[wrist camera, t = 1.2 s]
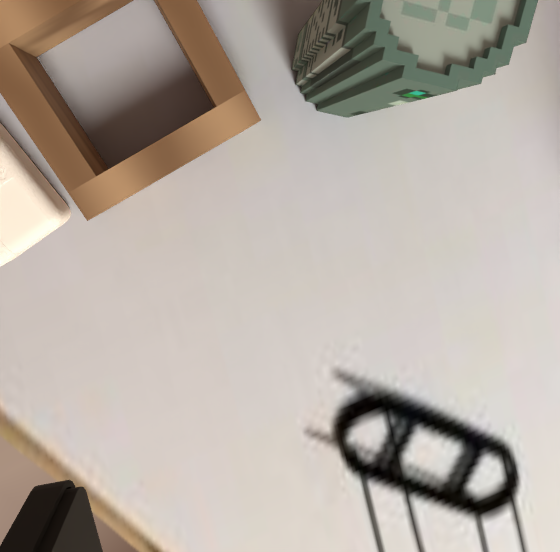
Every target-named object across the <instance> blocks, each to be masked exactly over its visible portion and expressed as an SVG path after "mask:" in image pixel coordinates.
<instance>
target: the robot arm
mask: <svg viewBox="0 0 560 552" xmlns="http://www.w3.org/2000/svg"><path fill="white" fill-rule="evenodd" d="M0 552H103V551H102V548H101V544H100V540H99V536H98V533H97V529H96V526H95V522H94V518H93V514H92V511H91V507H90V503H89V500H88V496H87V493H86V490H85V489H84V487H75V485H74V483H73V482H72V481H70V480H66V481H60V482H55V483H50V484H44V485H38V486H36V487H34V488H33V489H32V491H31V492H30V494H29V496H28V498H27V499H26V501H25V503H24V505H23V507H22V508H21V510H20V512H19V514H18V515H17V517H16V519H15V521H14V522H13V524H12V526H11V528H10V530H9V532H8V533H7V535H6V537H5V539H4V540H3V542H2V544H1V546H0Z"/></svg>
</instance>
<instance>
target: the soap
mask: <svg viewBox="0 0 560 552" xmlns="http://www.w3.org/2000/svg"><path fill="white" fill-rule="evenodd" d="M70 216H71V211H70V209H69V207H68V206H67V204H66V203H65V202H64V201H63V199H62V198H61V197H60V196H59V194H58V193H57V192H56V191H55V189H54V188H53V187H52V186H51V185H50V183H49V182H48V181H47V180H46V178H45V177H44V176H43V175H42V173H41V172H40V171H39V170H38V168H37V167H36V166H35V165H34V164H33V162H32V161H31V160H30V158H29V157H28V156H27V155H26V153H25V152H24V151H23V150H22V149H21V147H20V146H19V145H18V144H17V142H16V141H15V140H14V139H13V137H12V136H11V135H10V134H9V133H8V131H7V130H6V129H5V128H4V126H3V125H2V124H1V123H0V266H2V265H4V264H5V263H7V262H9V261H11V260H13V259H14V258H16V257H17V256H19V255H20V254H21V253H23V252H24V251H26V250H27V249H28V248H30V247H31V246H33V245H34V244H36V243H37V242H38V241H40V240H41V239H43V238H44V237H45V236H47V235H48V234H50V233H51V232H53V231H54V230H55V229H57V228H58V227H60V226H61V225H62V224H64V223H65V222H66V221H67V220H68V219H69V218H70Z"/></svg>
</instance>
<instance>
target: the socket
mask: <svg viewBox="0 0 560 552" xmlns="http://www.w3.org/2000/svg"><path fill="white" fill-rule="evenodd" d="M131 1H133V0H0V93H1V95H2V96H3V97H4V99H5V100H6V102H7V103H8V105H9V106H10V108H11V109H12V111H13V112H14V114H15V115H16V117H17V118H18V120H19V121H20V122H21V124H22V125H23V127H24V128H25V130H26V131H27V133H28V134H29V136H30V137H31V139H32V140H33V142H34V143H35V145H36V146H37V147H38V149H39V150H40V152H41V153H42V155H43V156H44V158H45V159H46V161H47V162H48V164H49V165H50V167H51V168H52V170H53V171H54V172H55V174H56V175H57V177H58V178H59V180H60V181H61V183H62V184H63V186H64V187H65V189H66V190H67V192H68V193H69V195H70V196H71V197H72V199H73V200H74V202H75V203H76V205H77V206H78V208H79V209H80V211H81V212H82V214H83V215H84V217H85V218H86V220H87V221H88V220H90V219H91V218H93V217H95V216H97V215H99V214H100V213H102V212H104V211H106V210H107V209H109V208H111V207H113V206H114V205H116V204H118V203H119V202H121V201H123V200H125V199H126V198H128V197H130V196H132V195H133V194H135V193H137V192H138V191H140V190H142V189H144V188H145V187H147V186H149V185H151V184H152V183H154V182H156V181H157V180H159V179H161V178H163V177H164V176H166V175H168V174H170V173H171V172H173V171H175V170H176V169H178V168H180V167H182V166H183V165H185V164H187V163H189V162H190V161H192V160H194V159H195V158H197V157H199V156H201V155H202V154H204V153H206V152H208V151H209V150H211V149H213V148H214V147H216V146H218V145H220V144H221V143H223V142H225V141H227V140H228V139H230V138H232V137H233V136H235V135H237V134H239V133H240V132H242V131H244V130H246V129H247V128H249V127H251V126H252V125H254V124H256V123H257V122H259V121H261V119H260V117H259V115H258V113H257V112H256V110H255V108H254V106H253V104H252V102H251V100H250V98H249V97H248V95H247V93H246V91H245V89H244V87H243V85H242V84H241V82H240V80H239V78H238V76H237V74H236V72H235V71H234V69H233V67H232V65H231V63H230V61H229V59H228V58H227V56H226V54H225V52H224V50H223V48H222V46H221V44H220V43H219V41H218V39H217V37H216V35H215V33H214V31H213V30H212V28H211V26H210V24H209V22H208V20H207V18H206V17H205V15H204V13H203V11H202V9H201V7H200V5H199V3H198V2H197V0H154V1H155V3H156V5H157V6H158V8H159V10H160V12H161V14H162V15H163V17H164V19H165V21H166V23H167V24H168V26H169V28H170V30H171V31H172V33H173V35H174V37H175V39H176V40H177V42H178V44H179V46H180V48H181V49H182V51H183V53H184V55H185V56H186V58H187V60H188V62H189V64H190V65H191V67H192V69H193V71H194V72H195V74H196V76H197V78H198V80H199V81H200V83H201V85H202V87H203V89H204V90H205V92H206V94H207V96H208V97H209V99H210V101H211V103H212V105H213V106H214V108H213V109H212V110H210V111H208V112H207V113H205V114H203V115H201V116H200V117H198V118H196V119H195V120H193V121H191V122H189V123H188V124H186V125H184V126H182V127H181V128H179V129H177V130H176V131H174V132H172V133H170V134H169V135H167V136H165V137H164V138H162V139H160V140H158V141H157V142H155V143H153V144H151V145H150V146H148V147H146V148H145V149H143V150H141V151H139V152H138V153H136V154H134V155H133V156H131V157H129V158H127V159H126V160H124V161H122V162H120V163H119V164H117V165H115V166H114V167H112V168H110V169H108V168H107V166H106V164H105V163H104V161H103V160H102V158H101V157H100V155H99V154H98V152H97V150H96V149H95V147H94V146H93V144H92V143H91V141H90V140H89V138H88V137H87V135H86V133H85V132H84V130H83V129H82V127H81V126H80V124H79V123H78V121H77V120H76V118H75V116H74V115H73V113H72V112H71V110H70V109H69V107H68V106H67V104H66V102H65V101H64V99H63V98H62V96H61V95H60V93H59V92H58V90H57V89H56V87H55V85H54V84H53V82H52V81H51V79H50V78H49V76H48V75H47V73H46V71H45V70H44V68H43V67H42V65H41V64H40V62H39V61H38V59H37V58H36V57H37V56H39V55H41V54H43V53H44V52H46V51H48V50H49V49H51V48H53V47H55V46H56V45H58V44H60V43H61V42H63V41H65V40H66V39H68V38H70V37H72V36H73V35H75V34H77V33H78V32H80V31H82V30H84V29H85V28H87V27H89V26H90V25H92V24H94V23H96V22H97V21H99V20H101V19H102V18H104V17H106V16H107V15H109V14H111V13H113V12H114V11H116V10H118V9H119V8H121V7H123V6H125V5H126V4H128V3H130V2H131Z"/></svg>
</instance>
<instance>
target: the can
mask: <svg viewBox="0 0 560 552" xmlns="http://www.w3.org/2000/svg"><path fill="white" fill-rule="evenodd" d="M537 2H538V0H323V1H322V2H321V3H320V5H319V6H318V8H317V9H316V10H315V12H314V13H313V15H312V16H311V17H310V19H309V20H308V22H307V23H306V24H305V26H304V27H303V29H302V30H301V31H300V33H299V34H298V38H297V44H296V49H295V54H294V60H293V65H292V70H295V71H298V74H297V79H296V85H298V86H302V88H301V93H302V94H307V96H306V102H311V103H315V104H318V106H317V111H320V112H325V113H329V114H334V115H338V116H343V117H351V116H355V115H359V114H364V113H368V112H372V111H376V110H380V109H384V108H388V107H392V106H396V105H400V104H404V103H408V102H412V101H417V100H421V99H425V98H429V97H433V96H437V95H441V94H445V93H449V92H453V91H457V90H458V89H462V88H466V87H470V86H474V85H478V84H481V82H482V78H483V77H486V76H490V75H493V74H495V72H496V68H499V67H502V66H505V65H509V62H510V58H511V54H512V51H513V47H515V46H518V45H520V44H523V43H526V41H527V38H528V34H529V30H530V27H531V23H532V20H533V16H534V13H535V9H536V6H537Z"/></svg>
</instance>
